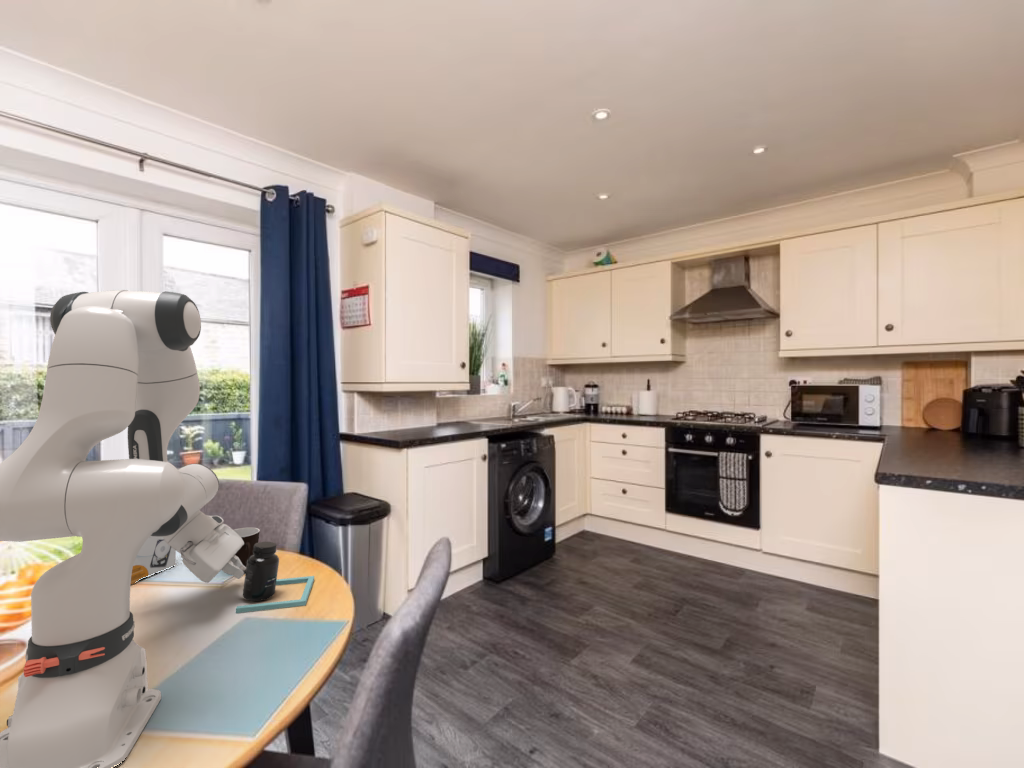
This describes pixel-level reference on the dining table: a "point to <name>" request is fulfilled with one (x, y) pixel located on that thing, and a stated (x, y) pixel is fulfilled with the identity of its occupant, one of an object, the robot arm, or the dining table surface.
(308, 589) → the teal frame
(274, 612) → the dining table surface
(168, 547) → the hard drive box
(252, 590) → the supplement bottle
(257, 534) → the coffee mug
